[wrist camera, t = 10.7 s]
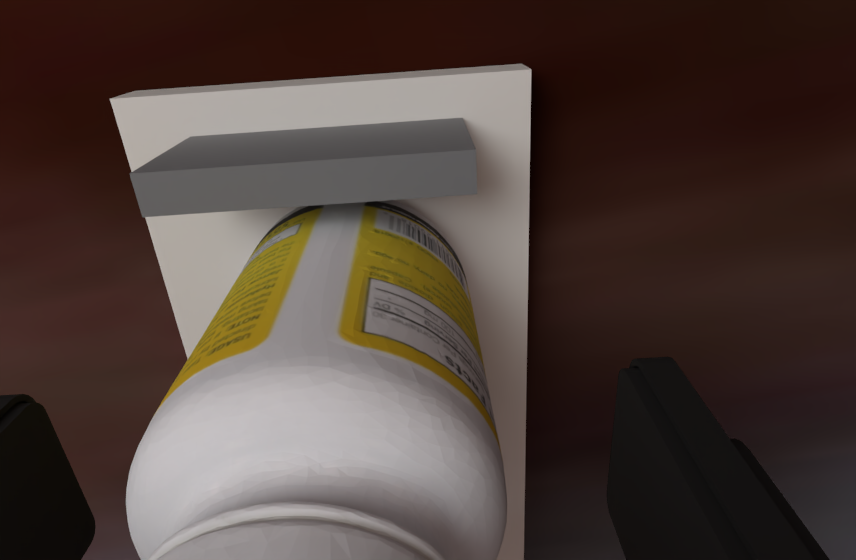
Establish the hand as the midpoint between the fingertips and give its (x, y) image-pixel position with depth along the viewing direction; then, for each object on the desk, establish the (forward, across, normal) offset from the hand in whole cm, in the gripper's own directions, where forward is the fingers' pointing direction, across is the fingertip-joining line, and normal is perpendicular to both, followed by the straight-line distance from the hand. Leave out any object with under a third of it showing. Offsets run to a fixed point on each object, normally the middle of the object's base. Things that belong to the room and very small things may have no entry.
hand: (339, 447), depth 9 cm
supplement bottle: (+6, 0, 0) cm, 6 cm away
